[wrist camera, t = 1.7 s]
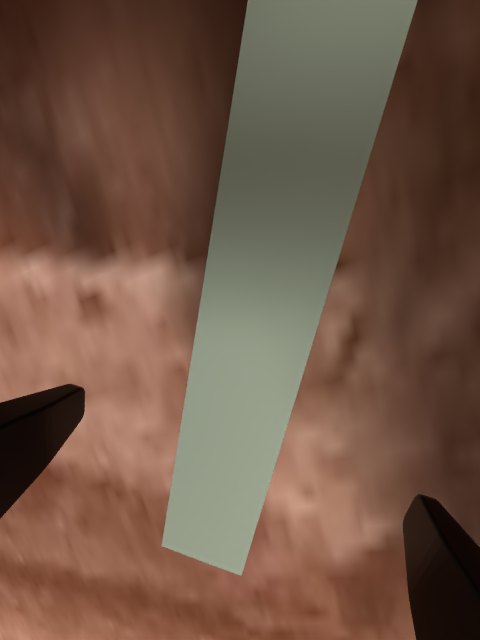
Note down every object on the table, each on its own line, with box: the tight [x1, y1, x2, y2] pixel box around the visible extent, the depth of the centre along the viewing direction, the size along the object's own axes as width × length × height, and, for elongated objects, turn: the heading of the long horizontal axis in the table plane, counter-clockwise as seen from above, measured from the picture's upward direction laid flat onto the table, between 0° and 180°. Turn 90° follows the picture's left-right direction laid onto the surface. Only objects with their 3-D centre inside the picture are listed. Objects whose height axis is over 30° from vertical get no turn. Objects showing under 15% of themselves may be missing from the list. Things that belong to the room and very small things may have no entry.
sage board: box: [162, 0, 418, 576], centre depth 8 cm, size 2×12×5 cm, turn 169°
